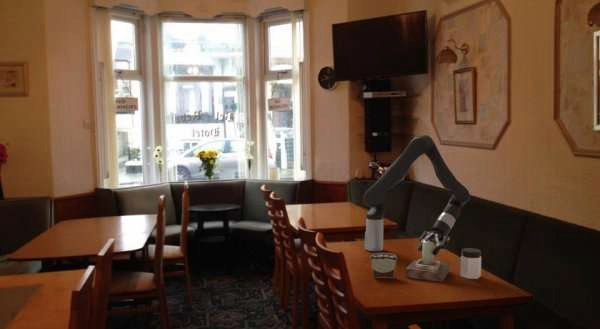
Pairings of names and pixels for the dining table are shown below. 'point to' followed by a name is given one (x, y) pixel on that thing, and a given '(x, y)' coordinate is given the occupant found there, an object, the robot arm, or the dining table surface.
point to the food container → (383, 265)
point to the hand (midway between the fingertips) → (426, 252)
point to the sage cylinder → (427, 253)
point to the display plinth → (427, 271)
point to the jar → (471, 263)
